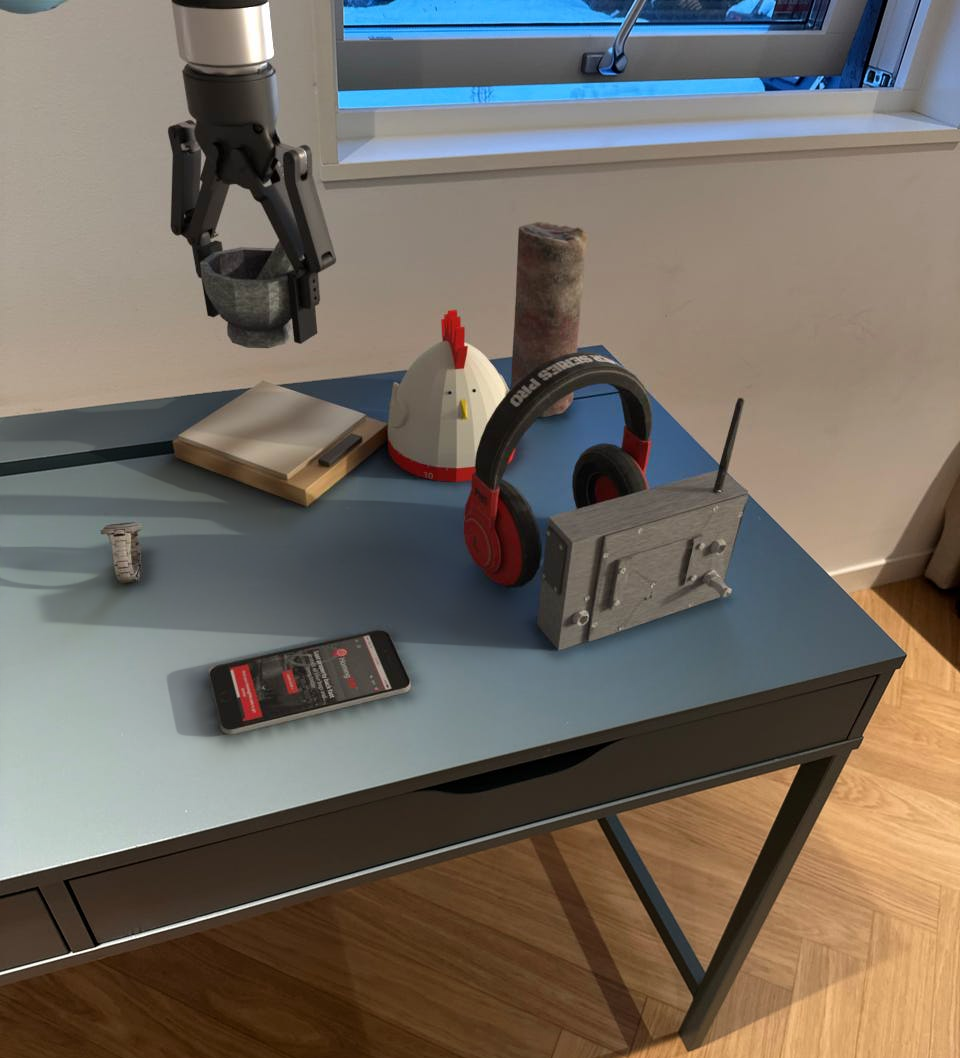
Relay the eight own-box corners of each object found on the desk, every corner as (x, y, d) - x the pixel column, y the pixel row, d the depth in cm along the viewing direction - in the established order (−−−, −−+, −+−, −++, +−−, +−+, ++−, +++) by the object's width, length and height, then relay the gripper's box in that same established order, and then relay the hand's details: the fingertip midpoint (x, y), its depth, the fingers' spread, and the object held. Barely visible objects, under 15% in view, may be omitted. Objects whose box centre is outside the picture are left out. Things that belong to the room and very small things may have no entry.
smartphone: (206, 667, 75) (386, 627, 79) (208, 673, 76) (387, 633, 80) (222, 732, 70) (413, 686, 74) (223, 738, 71) (413, 692, 75)
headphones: (503, 618, 82) (518, 414, 68) (446, 556, 88) (449, 358, 74) (658, 558, 89) (700, 363, 75) (595, 505, 95) (623, 315, 82)
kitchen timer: (399, 487, 96) (396, 350, 86) (378, 419, 106) (373, 289, 96) (529, 474, 99) (541, 339, 89) (497, 409, 109) (504, 281, 98)
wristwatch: (151, 549, 87) (140, 504, 84) (148, 591, 83) (136, 546, 79) (112, 552, 87) (99, 508, 83) (107, 595, 82) (93, 550, 79)
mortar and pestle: (203, 354, 88) (186, 220, 80) (213, 315, 95) (198, 189, 87) (324, 356, 89) (319, 225, 82) (325, 318, 96) (320, 194, 89)
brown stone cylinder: (495, 399, 110) (504, 224, 97) (539, 380, 114) (553, 209, 100) (541, 425, 106) (558, 246, 93) (585, 404, 110) (607, 230, 96)
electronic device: (693, 572, 88) (742, 376, 74) (738, 615, 84) (800, 416, 70) (532, 624, 82) (553, 420, 68) (572, 673, 77) (603, 467, 64)
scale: (175, 457, 99) (170, 436, 97) (265, 398, 108) (262, 377, 107) (307, 507, 93) (304, 485, 91) (388, 439, 103) (388, 418, 101)
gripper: (369, 75, 75) (379, 338, 90) (155, 36, 83) (198, 285, 98) (313, 94, 70) (334, 369, 86) (92, 51, 78) (147, 311, 93)
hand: (261, 324), depth 92 cm, fingers closed on mortar and pestle, 10 cm apart
